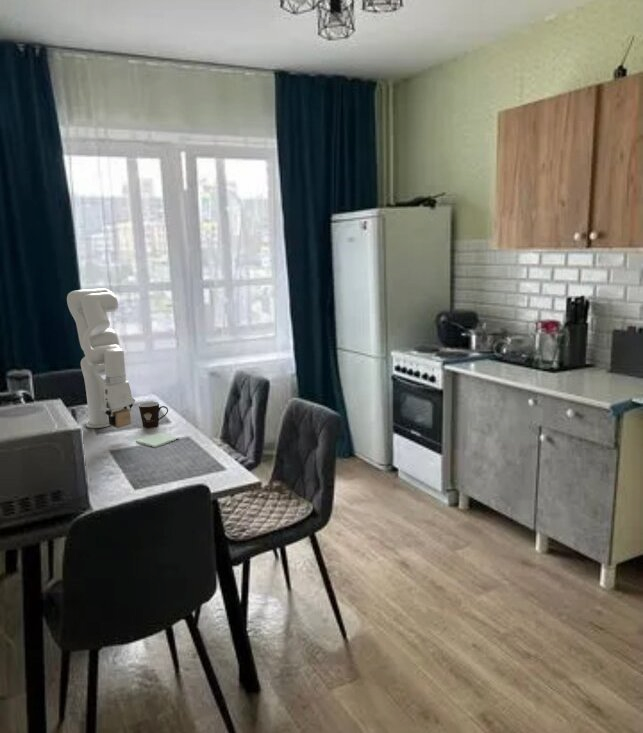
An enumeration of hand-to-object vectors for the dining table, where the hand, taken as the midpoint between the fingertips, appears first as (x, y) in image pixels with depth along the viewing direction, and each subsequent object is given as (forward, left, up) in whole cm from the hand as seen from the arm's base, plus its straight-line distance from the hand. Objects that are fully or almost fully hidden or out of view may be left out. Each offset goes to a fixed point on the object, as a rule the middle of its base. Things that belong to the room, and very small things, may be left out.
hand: (119, 422), depth 239 cm
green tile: (+13, +8, -8) cm, 17 cm away
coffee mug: (-5, +20, -8) cm, 22 cm away
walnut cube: (0, 0, -1) cm, 1 cm away
